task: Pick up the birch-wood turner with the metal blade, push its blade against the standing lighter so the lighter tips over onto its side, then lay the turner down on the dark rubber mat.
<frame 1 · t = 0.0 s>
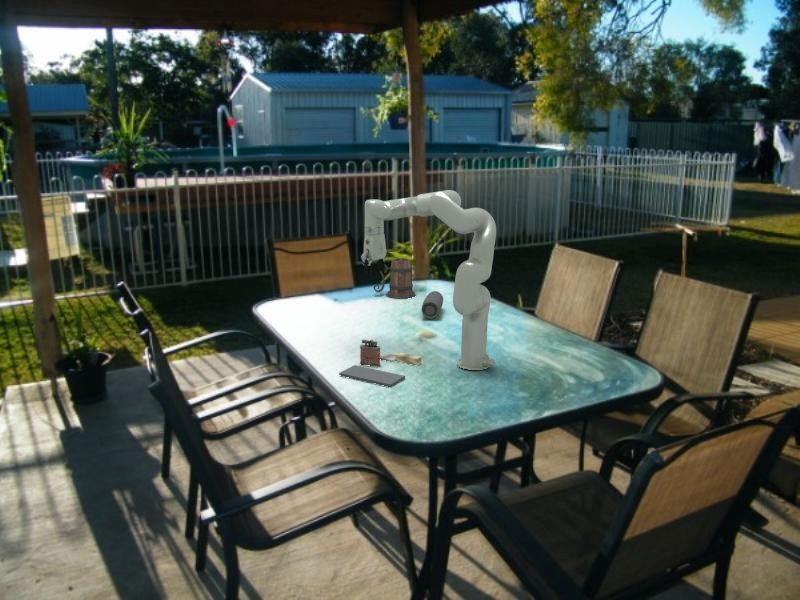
hand: (374, 273, 271), 31 cm above the table, tool pointing down, fingers open, 9 cm apart
bluetooth speaker: (432, 315, 327), on the table
tankard: (395, 296, 365), on the table
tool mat: (372, 377, 243), on the table
turner: (401, 361, 261), on the table
lighter: (370, 365, 256), on the table
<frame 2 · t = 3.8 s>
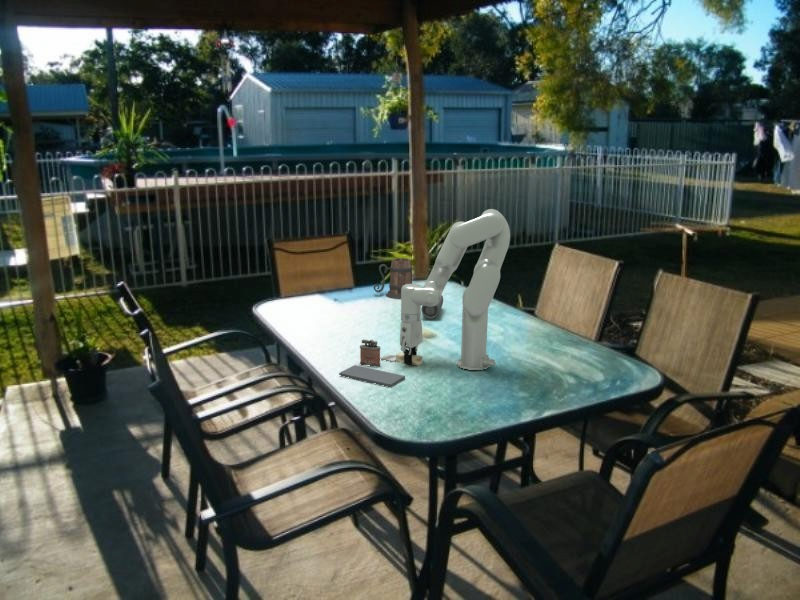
hand: (410, 362, 258), 0 cm above the table, tool pointing down, fingers closed on turner, 2 cm apart
turner: (402, 361, 260), on the table, touching gripper
everything else where it was.
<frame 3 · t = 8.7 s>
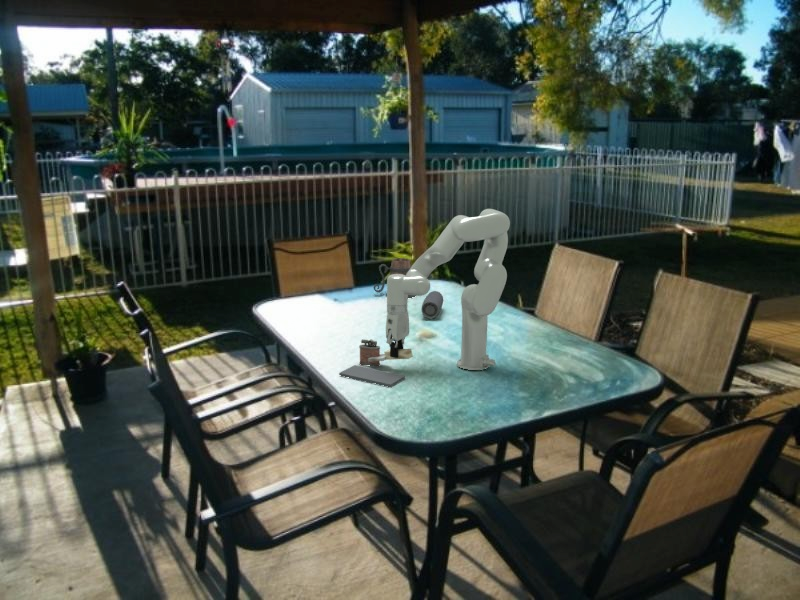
hand: (396, 355, 249), 6 cm above the table, tool pointing down, fingers closed on turner, 3 cm apart
turner: (392, 358, 250), point 4 cm above the table, tilted 12°, touching gripper, lighter
lighter: (369, 365, 256), on the table, touching turner
everything else where it was.
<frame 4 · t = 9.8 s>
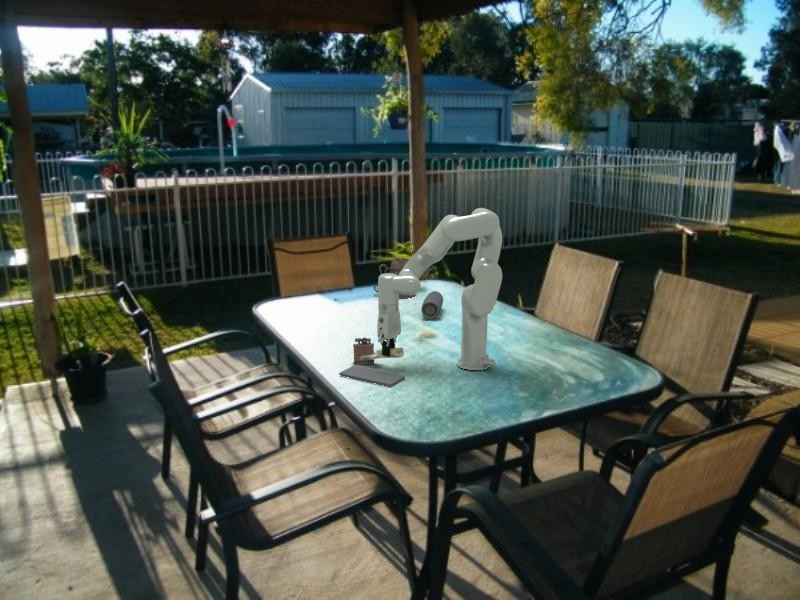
hand: (388, 354, 251), 6 cm above the table, tool pointing down, fingers closed on turner, 3 cm apart
turner: (384, 356, 252), point 4 cm above the table, tilted 12°, touching gripper, lighter
lighter: (364, 363, 258), on the table, touching turner
everything else where it was.
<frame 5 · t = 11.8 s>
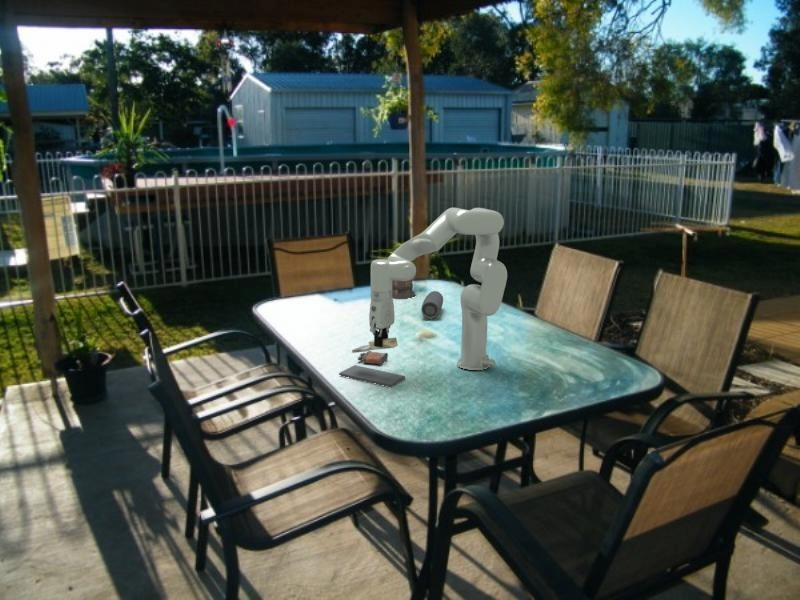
hand: (381, 344, 238), 13 cm above the table, tool pointing down, fingers closed on turner, 3 cm apart
turner: (377, 348, 239), point 11 cm above the table, tilted 15°, touching gripper
lighter: (384, 358, 258), point 2 cm above the table
everything else where it was.
when the fingers open (3 cm above the table, at t = 13.8 s): turner stays where it is, resting on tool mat.
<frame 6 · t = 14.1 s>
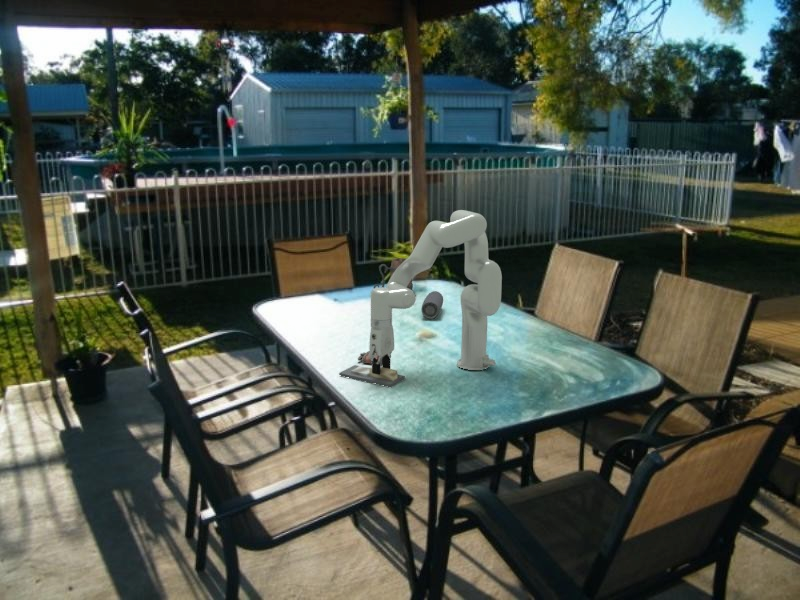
hand: (381, 370, 240), 3 cm above the table, tool pointing down, fingers open, 6 cm apart
turner: (376, 375, 242), point 1 cm above the table, touching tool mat
everything else where it was.
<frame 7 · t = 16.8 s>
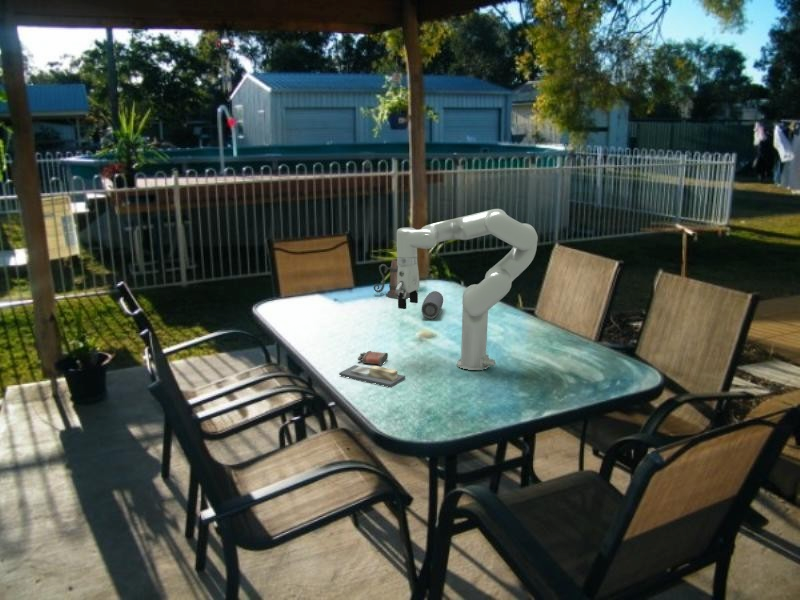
hand: (408, 305, 253), 23 cm above the table, tool pointing down, fingers open, 9 cm apart
nothing on the table moved.
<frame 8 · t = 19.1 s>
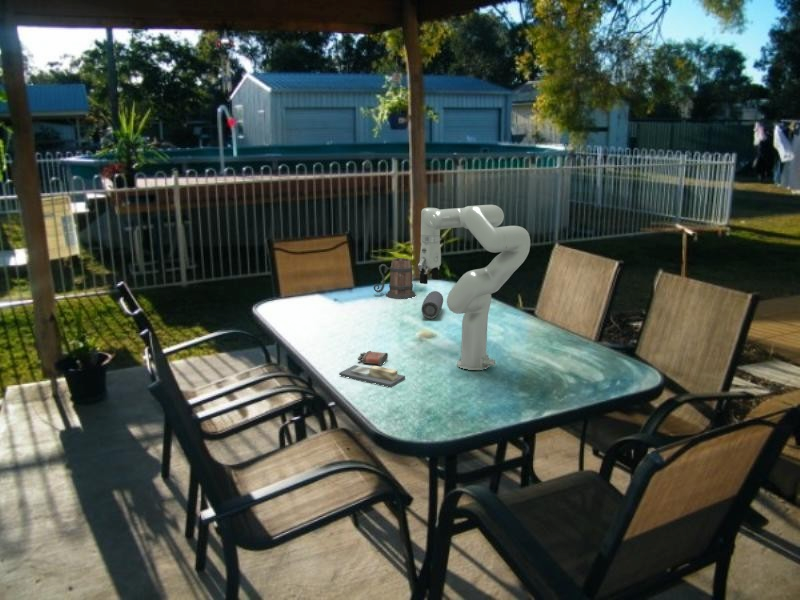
hand: (429, 281, 270), 28 cm above the table, tool pointing down, fingers open, 9 cm apart
nothing on the table moved.
at the end: lighter tilted 90°; turner inside the target area on the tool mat (1.9 cm from its centre), point 1.2 cm above the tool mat's base; the gripper is holding nothing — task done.
